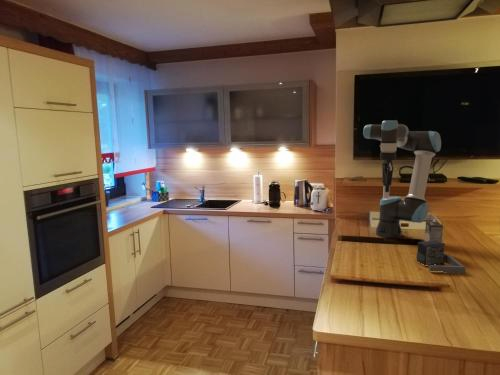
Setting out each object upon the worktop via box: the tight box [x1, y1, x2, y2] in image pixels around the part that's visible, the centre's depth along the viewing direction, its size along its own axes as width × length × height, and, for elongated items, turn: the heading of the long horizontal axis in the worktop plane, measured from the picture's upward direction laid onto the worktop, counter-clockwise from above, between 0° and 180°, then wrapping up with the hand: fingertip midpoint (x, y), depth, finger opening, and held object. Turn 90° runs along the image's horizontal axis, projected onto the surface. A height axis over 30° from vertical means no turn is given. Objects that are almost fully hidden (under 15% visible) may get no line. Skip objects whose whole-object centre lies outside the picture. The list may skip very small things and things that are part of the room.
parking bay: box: [415, 253, 466, 275], centre depth 178 cm, size 18×15×3 cm
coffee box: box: [424, 221, 444, 243], centre depth 194 cm, size 9×6×16 cm
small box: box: [416, 240, 446, 265], centre depth 181 cm, size 11×6×10 cm, turn 104°
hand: (386, 197), depth 192 cm, fingers closed
